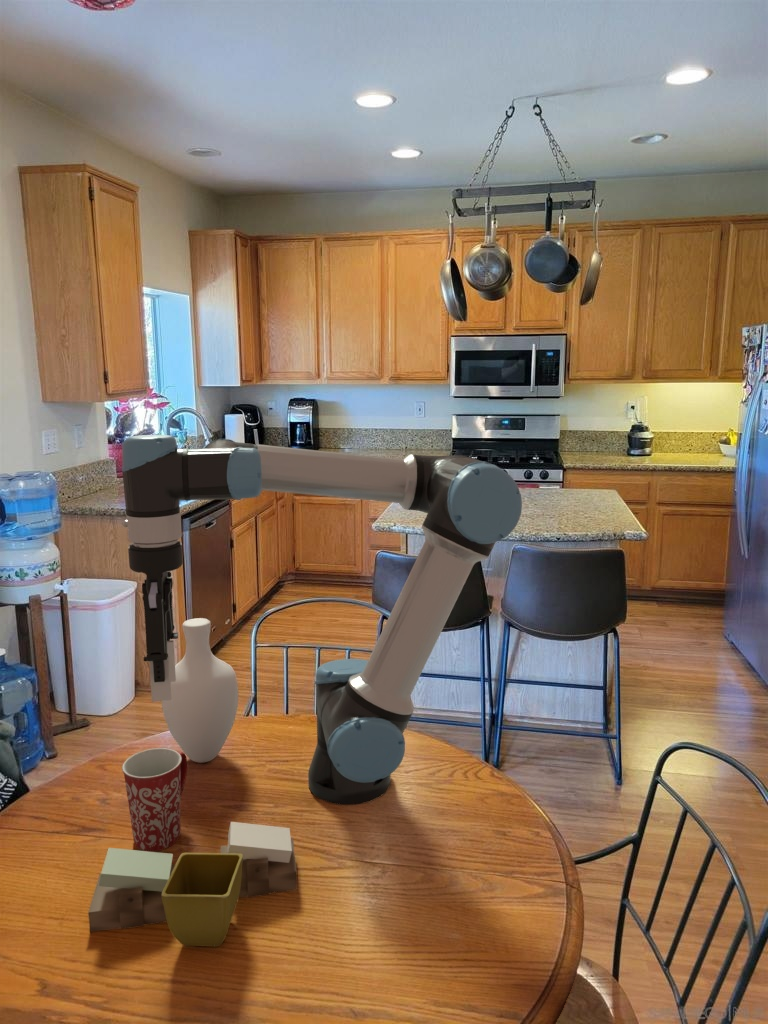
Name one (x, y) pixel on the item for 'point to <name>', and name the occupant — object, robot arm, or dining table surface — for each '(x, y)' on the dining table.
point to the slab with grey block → (125, 907)
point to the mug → (155, 796)
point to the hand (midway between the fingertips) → (164, 690)
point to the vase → (201, 696)
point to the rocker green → (136, 869)
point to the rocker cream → (260, 841)
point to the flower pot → (202, 897)
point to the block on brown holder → (267, 875)
